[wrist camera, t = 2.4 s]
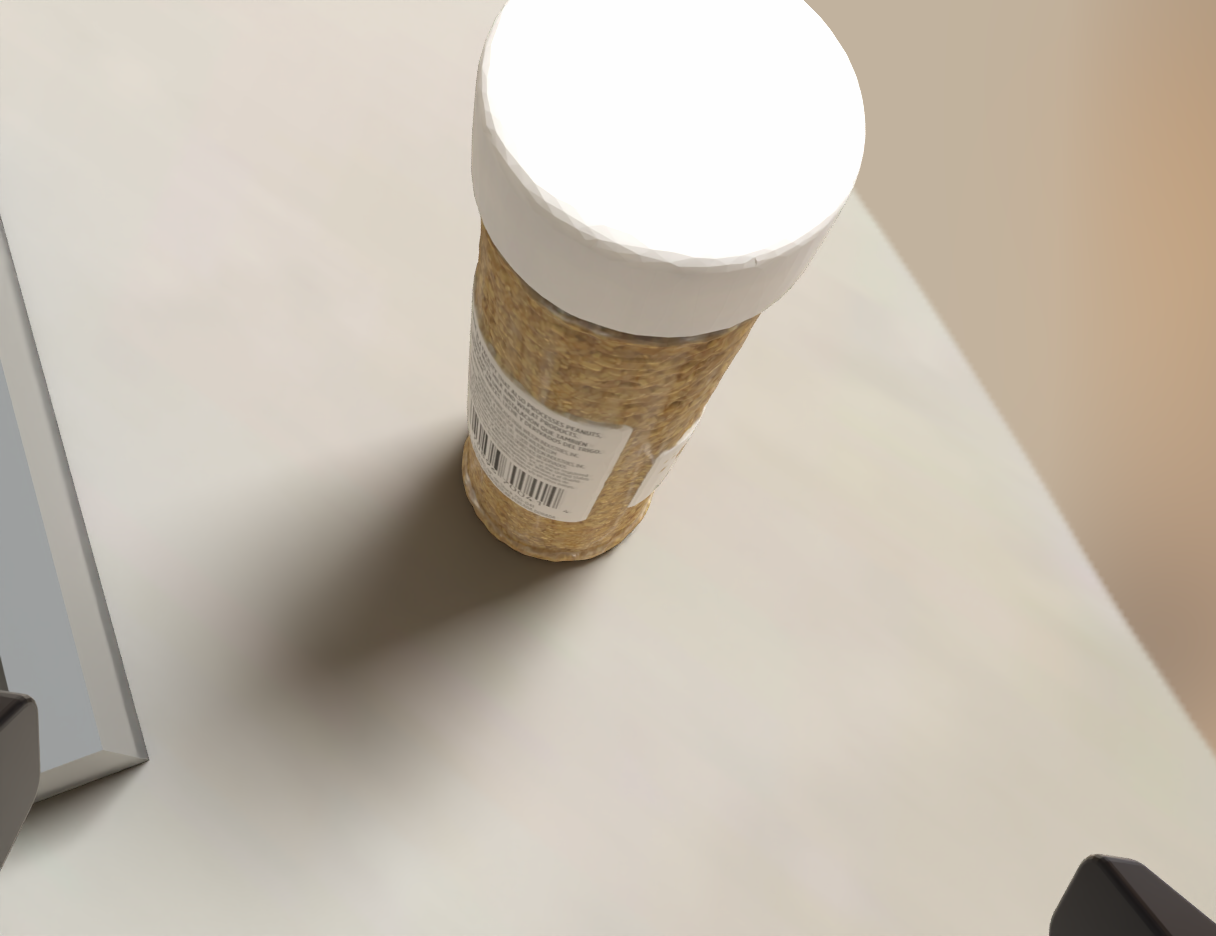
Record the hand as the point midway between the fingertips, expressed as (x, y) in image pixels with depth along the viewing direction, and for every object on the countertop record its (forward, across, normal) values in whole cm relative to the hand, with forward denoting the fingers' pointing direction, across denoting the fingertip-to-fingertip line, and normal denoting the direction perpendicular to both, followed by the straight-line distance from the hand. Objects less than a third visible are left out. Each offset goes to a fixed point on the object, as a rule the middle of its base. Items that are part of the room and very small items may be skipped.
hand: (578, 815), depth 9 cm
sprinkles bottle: (+15, 0, +4) cm, 16 cm away
